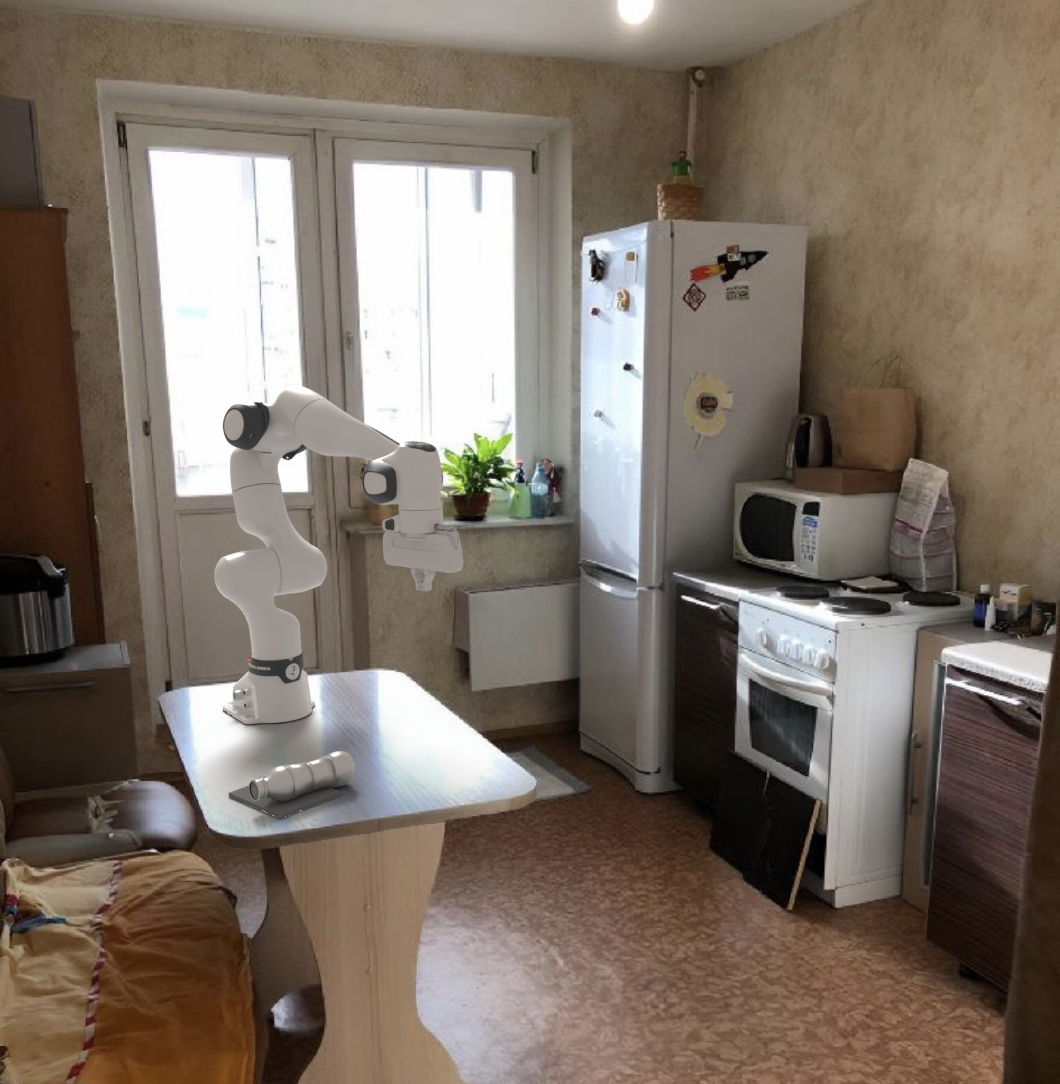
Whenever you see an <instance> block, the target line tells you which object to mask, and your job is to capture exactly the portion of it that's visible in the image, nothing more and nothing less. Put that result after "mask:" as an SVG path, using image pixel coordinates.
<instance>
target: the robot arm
mask: <svg viewBox="0 0 1060 1084" xmlns="http://www.w3.org/2000/svg"><path fill="white" fill-rule="evenodd" d="M222 430H223V435H224V437H225V440H226V441H227V443H228V444H229V445H231V446H232V447H234V448H235V449H234V450H233V451H232V452H231V454H230V458H229V459H230V460H229V467H230V468H229V474H230V475H229V476H230V478H229V479H230V487H231V488H230V489H231V494H232V498H233V503H234V511H235V514H236V515H235V516H236V520H237V524H238V526H239V527H240V529H241V530H242V531H244V533H247V534H249V535H252V536H254V537H256V538H258V539H260V541H262V542H263V543H264V544H265V547H266V548H259V549H258V548H257V549H250V550H241V551H238V552H233V553H231V554H227V555H225V556H222V557H220V559H219V560H218V561H217V563H216V565H215V568H214V573H213V579H214V581H213V582H214V583H215V587H216V589H217V590H218V593H220V594H221V595H222V596H223V597H224V598H225V599H228V600H229V601H230V602H232V603H233V604H234V605H235V606H237V607H238V609H239V610H240V611H241V612H242V614H243V615H244V618H245V619H246V621H247V625H248V630H249V637H250V643H251V645H250V646H251V656H248V657H247V656H246V659H248V660H246V663H248V668H247V672H246V673H245V674H244V675H243V676H242V677H241V678H240V679H238V681H237V682H235V684H234V685H233V687H232V701H230V702H227V703H226V704H224V705H222V711H223V710H224V712H225V711H226V712H227V713H226V712H225V713H226V714H228V715H229V716H231V715H232V716H231V717H233V718H234V719H236V720H238V721H239V722H241V723H243V724H244V725H254V724H273V723H274V724H277V723H285V722H286V723H287V722H292V721H296V720H299V719H303V718H304V717H305V718H306V717H307V716H308V715H309V716H310V714H311V713H312V712H313V707H315V705H316V704H315V700H314V699H312V697H311V690H310V684H309V677H308V672H306V671H305V670H304V668H305V657H304V652H303V651H302V639H301V624H300V621H299V619H298V618H297V617H296V616H295V614H293V613H291V612H289V611H287V610H285V609H282V608H278V607H277V605H276V603H275V597H276V596H282V595H291V594H297V593H303V592H306V591H309V590H312V589H316V588H317V587H320V586H322V584H323V583H324V581H325V580H326V578H327V574H328V563H327V562H328V561H327V559H326V557H325V555H324V553H323V552H322V551H321V550H320V549H319V548H318V547H316V546H315V545H312V543H309V542H308V541H307V540H306V539H305V538H304V537H302V536H301V535H300V533H299V532H298V531H297V530H296V529H295V527H294V525H293V523H292V522H291V519H290V517H289V514H288V510H287V506H286V504H285V499H284V494H283V489H282V484H281V479H280V474H279V468H278V467H279V463H280V460H281V459H283V460H285V461H290V460H292V459H293V458H294V457H295V456H296V455H298V454H300V453H303V452H304V451H306V450H308V449H309V450H310V451H312V452H314V453H315V454H316V453H317V454H319V455H322V456H325V457H347V458H348V457H351V458H361V459H364V460H365V459H366V460H369V462H368V463H367V464H366V466H365V467H364V470H363V472H362V477H361V485H362V489H363V493H364V494H365V496H366V498H367V499H368V500H369V501H370V502H371V503H373V504H375V505H381V506H388V505H397V504H398V514H395V515H394V516H391V517H389V518H385V519H383V520H382V525H381V526H382V530H383V531H384V533H383V537H382V551H383V552H382V554H383V559H384V562H385V563H386V565H390V566H395V567H404V568H410V573H411V575H412V578H413V580H414V582H415V590H417V591H422V592H430V591H432V590H433V586H432V585H433V583H432V582H433V580H434V578H435V576H436V574H437V573H436V572H440V573H447V574H451V573H459V572H461V571H462V569H463V567H464V556H463V548H462V543H461V542H462V541H461V539H460V533H459V531H458V530H457V529H456V528H455V527H454V526H453V525H449V524H448V525H445V524H444V508H443V507H444V506H443V503H442V499H441V492H442V489H443V484H444V473H443V469H442V464H441V459H440V458H441V457H440V455H439V452H438V449H437V447H436V446H435V445H433V444H431V443H429V442H423V441H413V440H412V441H410V440H409V441H408V440H407V441H404V442H401V443H399V442H398V441H396V440H395V439H393V438H391V437H390V436H388V435H386V434H385V433H383V432H381V431H380V430H378V429H376V428H374V427H372V426H370V425H369V424H366V423H365V422H363V421H360V420H359V419H357V418H355V417H354V416H352V415H350V414H349V413H347V412H346V411H344V410H343V409H341V408H340V407H338V406H337V405H335V404H334V403H333V402H331V401H330V400H329V399H328V398H326V397H324V396H322V395H321V394H319V393H317V392H316V391H314V390H313V389H310V388H308V387H304V386H302V385H291V386H287V387H286V388H284V389H283V390H281V392H280V393H279V394H278V396H277V398H276V400H275V402H273V403H264V402H262V401H261V400H260V401H259V400H258V401H245V402H239V403H235V404H233V405H231V406H230V407H229V408H228V410H227V411H226V413H225V414H224V417H223V422H222ZM423 575H424V576H423Z"/></svg>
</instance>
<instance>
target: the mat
mask: <svg viewBox="0 0 1060 1084" xmlns="http://www.w3.org/2000/svg"><path fill="white" fill-rule="evenodd" d="M341 795H342V794H341V791H339V790H336V789H334V788H333V787H329V788H324V789H318V790H314V791H311V792H308V793H305V794H302V795H300V796H298V797H296V798H294V799H291V800H289V801H286V802H278V801H275V800H272V799H270V798H268V797H267V799H265V800H258V801H254V800H253V799H252V798H251V796H250V793H249V785H246V786H244V787H241V788H238V789H236V790H233V791H229V792H228V798H230V797H231V798H230V799H233V800H235V801H237V800H239V801H240V802H239V801H238V802H239V803H242V802H243V803H242V804H244V803H245V805H246V804H247V806H249V805H250V806H249V807H251V806H252V807H251V808H253V807H255V808H257V809H256V810H258V809H259V810H258V811H260V810H263V811H265V812H267V813H268V815H269V814H270V816H271V815H274V816H275V817H274V816H273V817H274V818H276V817H278V818H279V819H278V818H277V819H278V820H283V819H285V818H286V817H285V816H288V815H291V816H293V815H296V814H298V813H300V812H299V811H300V810H303V811H306V810H308V809H311V808H313V807H316V806H318V805H322V804H323V803H326V802H329V801H331V800H334V799H337V798H339V797H340V796H341ZM255 808H254V809H255ZM305 809H306V810H305ZM265 812H264V813H265ZM297 812H298V813H297ZM267 813H266V814H267ZM295 813H296V814H295ZM292 814H293V815H292ZM284 817H285V818H284ZM288 817H289V816H288ZM282 818H283V819H282Z"/></svg>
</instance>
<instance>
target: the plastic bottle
mask: <svg viewBox="0 0 1060 1084" xmlns="http://www.w3.org/2000/svg"><path fill="white" fill-rule="evenodd" d="M356 771H357V770H356V764H355V760H354V759H353V757H352V756H351V754H350V753H348V752H346V751H344V750H339V751H332V752H329V753H327V754H326V755H324V756H322V757H319V758H316V759H313V760H309V761H305V762H299V763H295V764H283V765H282V764H280V765H276V766H274V767H273V768H271V769H270V770H269V771H268V773H266V774H265V776H264V777H257V778H255V779H252V780H250V781H249V783H248V786H249V793H250V796H251V798H252V799H253V800H254V801H258V800H265V799H267V797H268V798H270V799H272V800H275V801H278V802H286V801H289V800H291V799H294V798H296V797H298V796H300V795H302V794H305V793H308V792H311V791H314V790H318V789H324V788H339V787H344V786H346V785H348V784H350V783H351V782H352V781H353V780H354V779H355V776H356Z"/></svg>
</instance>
